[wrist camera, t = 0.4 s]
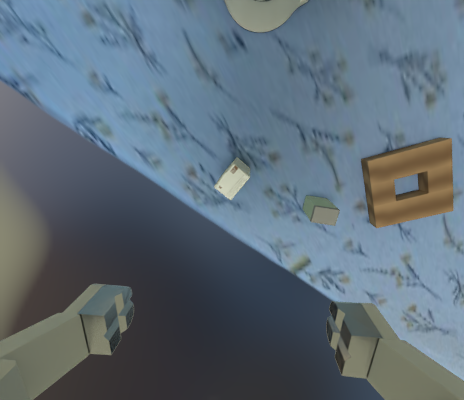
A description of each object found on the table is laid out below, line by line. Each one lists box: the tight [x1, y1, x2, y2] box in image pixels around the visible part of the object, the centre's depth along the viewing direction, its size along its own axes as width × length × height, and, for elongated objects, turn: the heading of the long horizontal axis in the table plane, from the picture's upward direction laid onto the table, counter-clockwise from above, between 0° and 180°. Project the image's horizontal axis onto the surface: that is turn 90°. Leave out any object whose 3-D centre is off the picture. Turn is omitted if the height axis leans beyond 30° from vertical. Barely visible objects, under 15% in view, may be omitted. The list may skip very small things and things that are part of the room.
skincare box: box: [214, 157, 250, 200], centre depth 48 cm, size 6×4×12 cm
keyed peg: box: [303, 195, 340, 226], centre depth 51 cm, size 4×5×8 cm
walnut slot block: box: [361, 138, 453, 228], centre depth 50 cm, size 16×16×3 cm
